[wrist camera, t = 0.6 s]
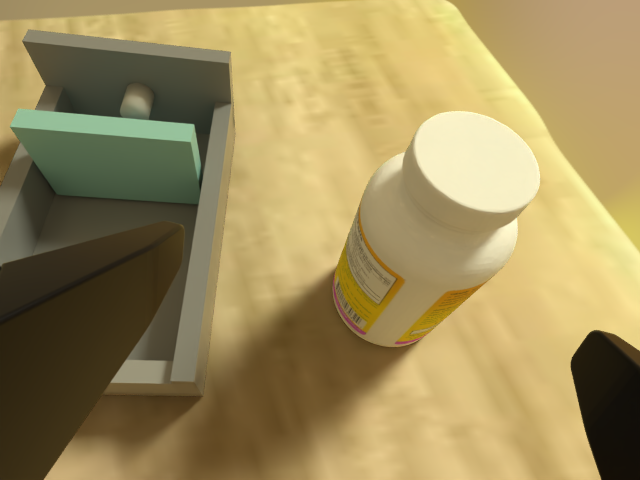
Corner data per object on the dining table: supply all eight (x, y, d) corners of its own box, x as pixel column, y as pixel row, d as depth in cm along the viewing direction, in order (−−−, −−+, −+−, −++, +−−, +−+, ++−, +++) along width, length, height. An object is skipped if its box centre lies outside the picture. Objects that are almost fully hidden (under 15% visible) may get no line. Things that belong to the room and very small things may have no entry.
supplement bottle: (444, 269, 27) (573, 125, 16) (425, 366, 24) (569, 270, 13) (347, 233, 28) (408, 70, 17) (314, 325, 24) (363, 197, 13)
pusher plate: (202, 204, 26) (190, 142, 21) (56, 194, 25) (9, 126, 20) (205, 188, 27) (194, 124, 22) (63, 178, 26) (18, 108, 21)
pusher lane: (203, 396, 22) (183, 365, 16) (-31, 392, 20) (-146, 357, 15) (235, 133, 31) (230, 51, 25) (73, 119, 29) (28, 29, 23)
